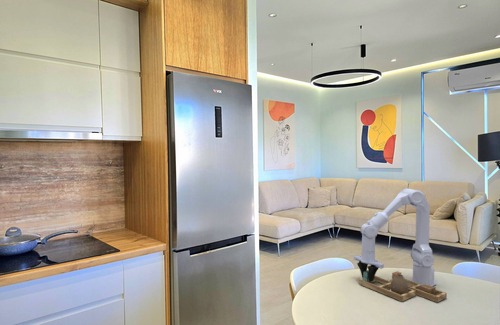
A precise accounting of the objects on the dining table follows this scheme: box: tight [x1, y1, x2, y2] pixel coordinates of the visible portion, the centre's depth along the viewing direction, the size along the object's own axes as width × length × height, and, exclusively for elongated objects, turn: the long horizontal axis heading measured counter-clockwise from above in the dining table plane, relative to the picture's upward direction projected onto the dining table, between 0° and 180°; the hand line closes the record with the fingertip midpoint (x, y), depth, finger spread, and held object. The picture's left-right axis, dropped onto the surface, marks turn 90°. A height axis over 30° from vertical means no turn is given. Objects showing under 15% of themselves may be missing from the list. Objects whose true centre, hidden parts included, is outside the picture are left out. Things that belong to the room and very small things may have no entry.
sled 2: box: [389, 270, 447, 303], centre depth 135 cm, size 8×20×5 cm, turn 33°
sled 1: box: [358, 269, 417, 302], centre depth 136 cm, size 10×20×5 cm, turn 33°
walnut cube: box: [421, 284, 437, 296], centre depth 131 cm, size 4×4×4 cm
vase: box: [390, 273, 409, 295], centre depth 131 cm, size 7×7×9 cm
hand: (367, 279), depth 144 cm, fingers open, 3 cm apart
